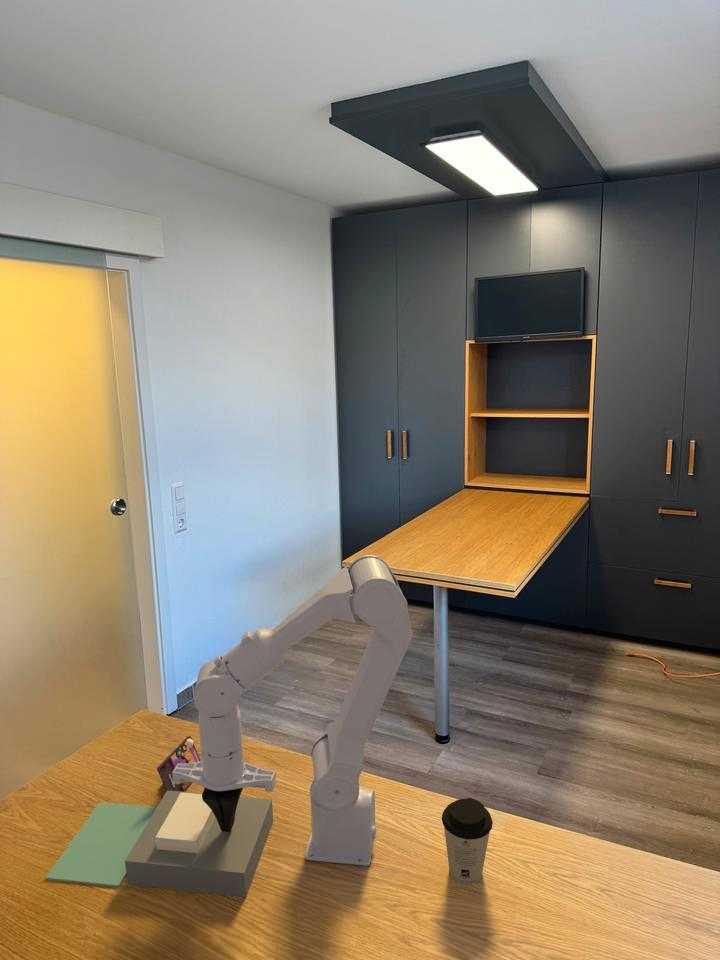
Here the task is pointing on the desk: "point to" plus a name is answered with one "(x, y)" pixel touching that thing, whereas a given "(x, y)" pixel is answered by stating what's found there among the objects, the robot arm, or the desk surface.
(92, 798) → the desk surface
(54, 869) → the mat
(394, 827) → the desk surface
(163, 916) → the desk surface
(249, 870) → the plate
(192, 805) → the beige rectangular block
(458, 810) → the coffee cup
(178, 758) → the game card
